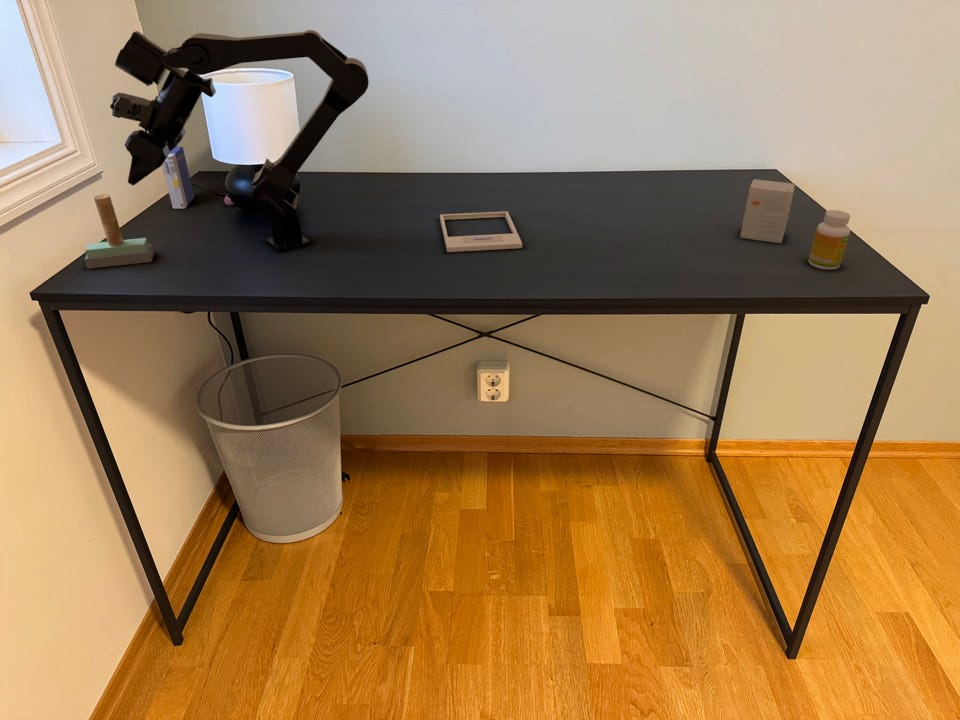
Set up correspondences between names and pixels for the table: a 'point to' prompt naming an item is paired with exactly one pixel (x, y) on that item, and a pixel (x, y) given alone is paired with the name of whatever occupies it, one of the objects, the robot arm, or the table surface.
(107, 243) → the wiper
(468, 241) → the photo frame
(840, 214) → the supplement bottle
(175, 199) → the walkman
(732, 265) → the table surface
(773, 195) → the small box
